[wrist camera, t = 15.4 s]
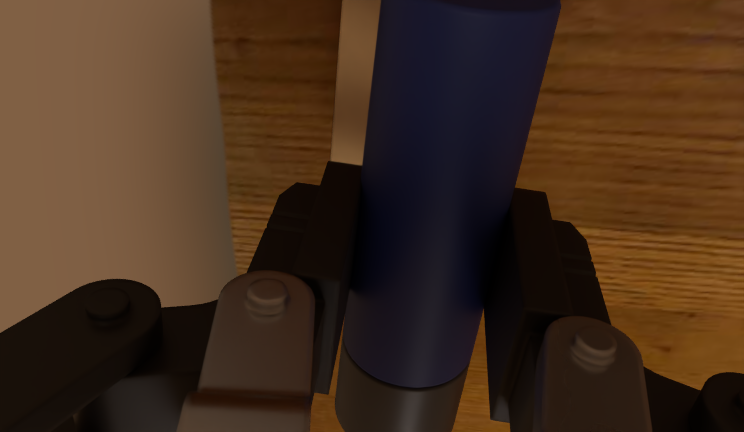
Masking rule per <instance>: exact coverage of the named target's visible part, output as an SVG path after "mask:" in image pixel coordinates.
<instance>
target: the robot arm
mask: <svg viewBox="0 0 744 432" xmlns="http://www.w3.org/2000/svg"><path fill="white" fill-rule="evenodd" d="M361 170H362V165H356V164H349V163H342V162H335V161H328V163H327V166H326V169H325V172H324V175H323V178H322V181H321V184H320V186H319V185H312V184H305V183H298V182H297V183H295V184H294V185H292V186H291V187H290V188H288V189H287V190H286V191H284V192H283V193H282V194H280V195H279V198H278V200H277V202H276V205H275V207H274V209H273V213H272V214H271V217H270V219H269V221H268V224H267V228H265V231H264V233H263V235H262V238H261V240H260V242H259V245H258V247H257V250H256V252H255V254H254V257H253V259H252V261H251V264H250V266H249V268H248V271H247V273H245V274H242V275H240V276H238V277H236V278H234V279H233V280H231V281H230V282H228V283H227V284H226V285H225V286H224V288H223V289H222V291H221V293H220V295H219V299H218V300H215V301H212V302H208V303H204V304H198V305H190V306H177V307H164V308H161V302H160V298H159V297H158V295H157V294H156V292H154V290H152V289H151V288H150V287H148V286H146V285H144V284H142V283H140V282H136V281H132V280H126V279H107V280H101V281H96V282H92V283H89V284H86V285H84V286H81V287H79V288H77V289H75V290H73V291H72V292H70V293H68V294H66V295H65V296H63V297H62V298H60V299H58V300H56V301H55V302H53V303H51V304H49V305H48V306H46V307H44V308H42V309H41V310H39V311H38V312H35V313H34V314H32V315H30V316H29V317H27V318H25V319H23V320H22V321H20V322H18V323H17V324H15V325H13V326H11V327H10V328H8V329H6V330H5V331H3V332H1V333H0V432H310V418H311V405H312V400H313V396H314V392H315V393H321V394H329V389H330V384H331V379H332V375H333V370H334V365H335V360H336V355H337V350H338V345H339V340H340V335H341V330H342V325H343V321H344V316H345V311H346V306H347V301H348V296H349V291H350V285H351V276H352V268H353V259H354V251H355V242H356V233H357V225H358V216H359V208H360V199H361V191H362V184H361ZM591 259H592V258H591V254H590V251H589V248H588V244H587V241H586V239H585V238H584V237H583V236H582V235H581V234H580V233H579V232H578V230H577V229H576V228H575V227H574V226H573V225H572V224H571V223H570V222H564V221H558V220H552V217H551V213H550V208H549V204H548V200H547V195H546V193H545V192H541V191H534V190H527V189H520V188H514V192H513V196H512V200H511V204H510V207H509V211H508V215H507V219H506V223H505V226H504V230H503V234H502V238H501V242H500V246H499V250H498V254H497V258H496V262H495V265H494V269H493V273H492V277H491V281H490V285H489V289H488V293H487V297H486V300H485V304H484V318H485V335H486V352H487V369H488V386H489V403H490V419H491V420H495V421H501V422H508V423H510V431H511V432H744V374H741V373H734V372H725V373H719V374H716V375H713V376H712V377H710V378H709V379H708V380H707V381H706V382H705V384H704V386H703V388H702V389H701V391H700V390H697V389H695V388H692V387H690V386H687V385H684V384H682V383H679V382H676V381H674V380H671V379H668V378H666V377H663V376H661V375H659V374H656V373H654V372H653V371H651V370H649V369H647V368H645V367H644V366H643V361H642V357H641V354H640V352H639V350H638V348H637V347H636V345H635V344H634V342H633V341H632V340H631V339H630V338H629V337H628V336H626V335H625V334H624V333H623V332H621V331H620V330H618V329H617V328H615V327H613V326H611V322H610V319H609V315H608V312H607V309H606V305H605V302H604V298H603V295H602V292H601V288H600V285H599V282H598V278H597V277H596V271H595V268H594V265H593V262H591Z"/></svg>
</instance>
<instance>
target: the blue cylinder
mask: <svg viewBox="0 0 744 432" xmlns="http://www.w3.org/2000/svg"><path fill="white" fill-rule="evenodd" d="M560 9H561V3H560V0H381V5H380V13H379V22H378V31H377V40H376V48H375V57H374V66H373V74H372V83H371V92H370V101H369V109H368V118H367V127H366V136H365V144H364V153H363V162H362V170H361V184H362V191H361V199H360V208H359V216H358V225H357V233H356V242H355V251H354V259H353V268H352V276H351V285H350V291H349V296H348V301H347V306H346V311H345V319H344V327H343V336H342V345H341V354H340V362H339V371H338V380H337V388H336V397H335V410H336V415H337V418H338V420H339V422H340V424H341V426H342V428H343V429H344V431H345V432H451V431H452V429H453V425H454V422H455V418H456V414H457V410H458V406H459V402H460V398H461V395H462V391H463V387H464V383H465V379H466V375H467V371H468V367H469V363H470V359H471V355H472V352H473V348H474V344H475V340H476V336H477V332H478V328H479V324H480V321H481V317H482V313H483V309H484V304H485V300H486V297H487V293H488V289H489V285H490V281H491V277H492V273H493V269H494V265H495V262H496V258H497V254H498V250H499V246H500V242H501V238H502V234H503V230H504V226H505V223H506V219H507V215H508V211H509V207H510V204H511V200H512V196H513V192H514V188H515V184H516V181H517V177H518V173H519V169H520V165H521V161H522V157H523V153H524V149H525V146H526V142H527V138H528V134H529V130H530V126H531V122H532V118H533V114H534V111H535V107H536V103H537V99H538V95H539V91H540V87H541V83H542V79H543V76H544V72H545V68H546V64H547V60H548V56H549V52H550V48H551V44H552V41H553V37H554V33H555V29H556V25H557V21H558V17H559V13H560Z"/></svg>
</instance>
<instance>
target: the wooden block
mask: <svg viewBox="0 0 744 432" xmlns="http://www.w3.org/2000/svg"><path fill="white" fill-rule="evenodd" d="M380 5H381V0H342V8H341V21H340V35H339V48H338V62H337V75H336V89H335V102H334V116H333V129H332V143H331V157H330V161H335V162H342V163H349V164H356V165H362V162H363V153H364V144H365V136H366V127H367V118H368V109H369V101H370V92H371V83H372V74H373V66H374V57H375V48H376V40H377V31H378V22H379V13H380Z"/></svg>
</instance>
